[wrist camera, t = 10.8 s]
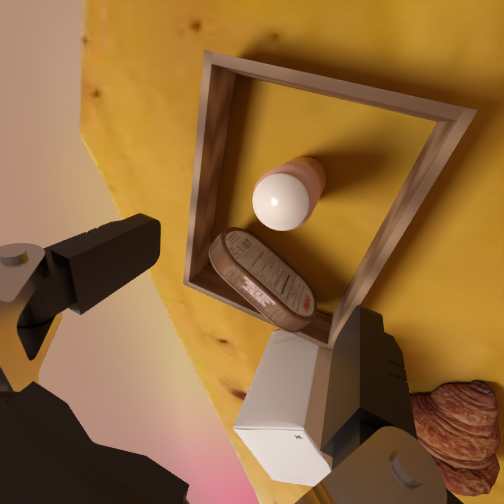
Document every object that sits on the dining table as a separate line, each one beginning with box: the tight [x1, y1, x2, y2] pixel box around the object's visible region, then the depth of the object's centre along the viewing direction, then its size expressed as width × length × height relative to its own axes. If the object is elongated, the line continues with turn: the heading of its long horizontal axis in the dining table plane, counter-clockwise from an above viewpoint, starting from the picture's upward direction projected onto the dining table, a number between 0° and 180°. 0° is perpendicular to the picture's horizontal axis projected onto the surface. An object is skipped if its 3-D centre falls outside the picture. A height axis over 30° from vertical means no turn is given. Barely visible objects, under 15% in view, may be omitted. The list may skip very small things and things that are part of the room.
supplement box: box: [233, 329, 333, 487], centre depth 31 cm, size 9×9×15 cm
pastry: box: [410, 380, 500, 496], centre depth 32 cm, size 17×15×8 cm
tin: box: [209, 227, 317, 333], centre depth 29 cm, size 15×3×8 cm, turn 53°
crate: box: [183, 50, 478, 352], centre depth 27 cm, size 26×21×5 cm
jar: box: [253, 156, 326, 231], centre depth 23 cm, size 5×5×10 cm
